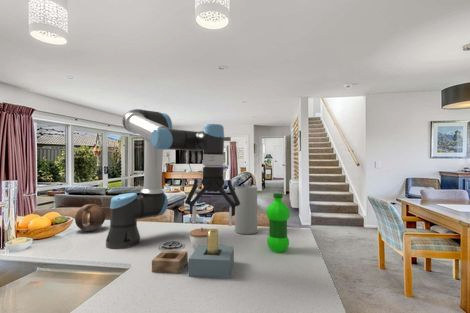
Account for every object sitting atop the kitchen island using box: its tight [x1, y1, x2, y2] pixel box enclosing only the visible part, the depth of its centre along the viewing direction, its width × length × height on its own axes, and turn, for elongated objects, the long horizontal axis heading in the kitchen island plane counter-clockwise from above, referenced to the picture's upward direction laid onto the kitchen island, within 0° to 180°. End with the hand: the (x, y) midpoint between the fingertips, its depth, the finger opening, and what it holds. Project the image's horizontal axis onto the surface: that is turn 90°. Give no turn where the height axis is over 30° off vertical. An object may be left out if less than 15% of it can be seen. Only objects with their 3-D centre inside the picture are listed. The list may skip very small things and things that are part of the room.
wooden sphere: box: [74, 203, 107, 232], centre depth 141 cm, size 15×15×15 cm
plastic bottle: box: [266, 192, 291, 253], centre depth 110 cm, size 10×10×25 cm
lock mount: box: [151, 250, 189, 274], centre depth 93 cm, size 10×10×4 cm
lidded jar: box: [189, 227, 209, 251], centre depth 112 cm, size 11×11×9 cm
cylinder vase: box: [234, 185, 258, 235], centre depth 140 cm, size 12×12×25 cm
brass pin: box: [207, 228, 219, 255], centre depth 91 cm, size 4×4×14 cm
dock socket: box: [188, 245, 235, 279], centre depth 91 cm, size 14×14×6 cm
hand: (212, 224), depth 92 cm, fingers open, 13 cm apart
